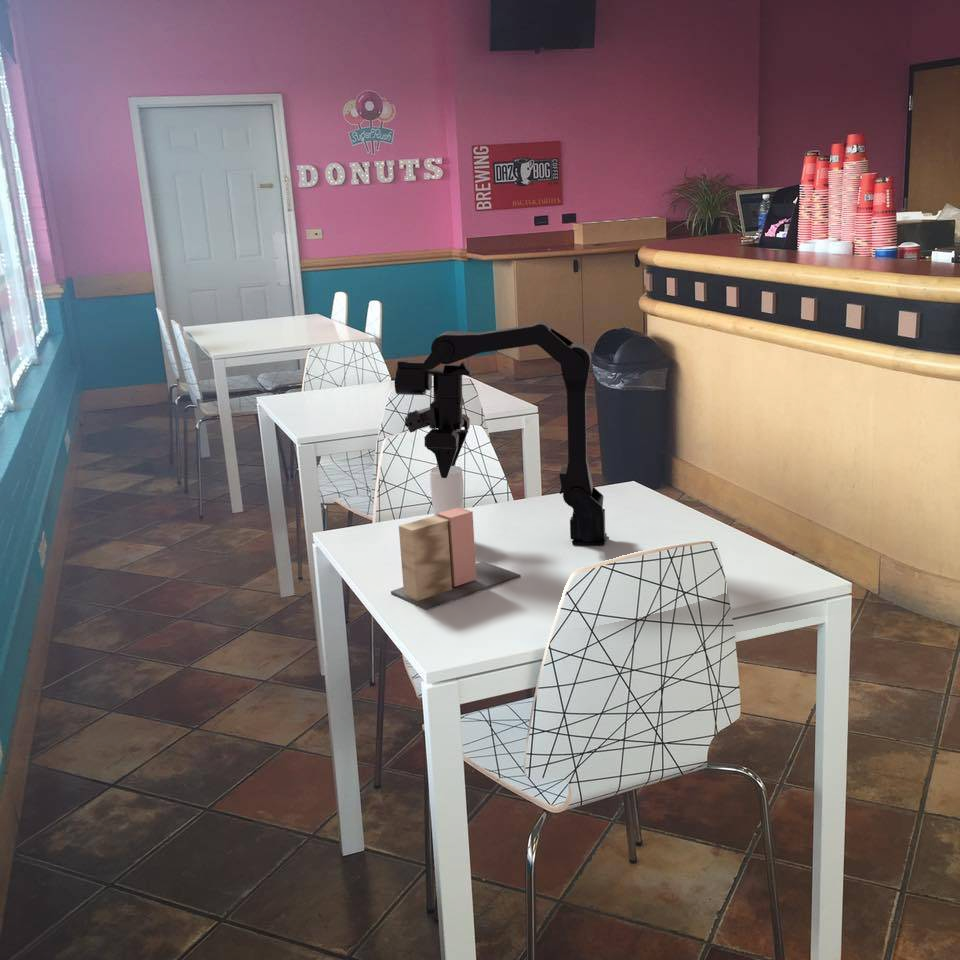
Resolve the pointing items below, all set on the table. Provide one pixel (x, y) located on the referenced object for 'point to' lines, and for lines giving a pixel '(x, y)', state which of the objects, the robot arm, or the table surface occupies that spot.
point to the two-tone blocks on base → (438, 566)
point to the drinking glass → (446, 489)
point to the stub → (461, 544)
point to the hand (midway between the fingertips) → (448, 471)
